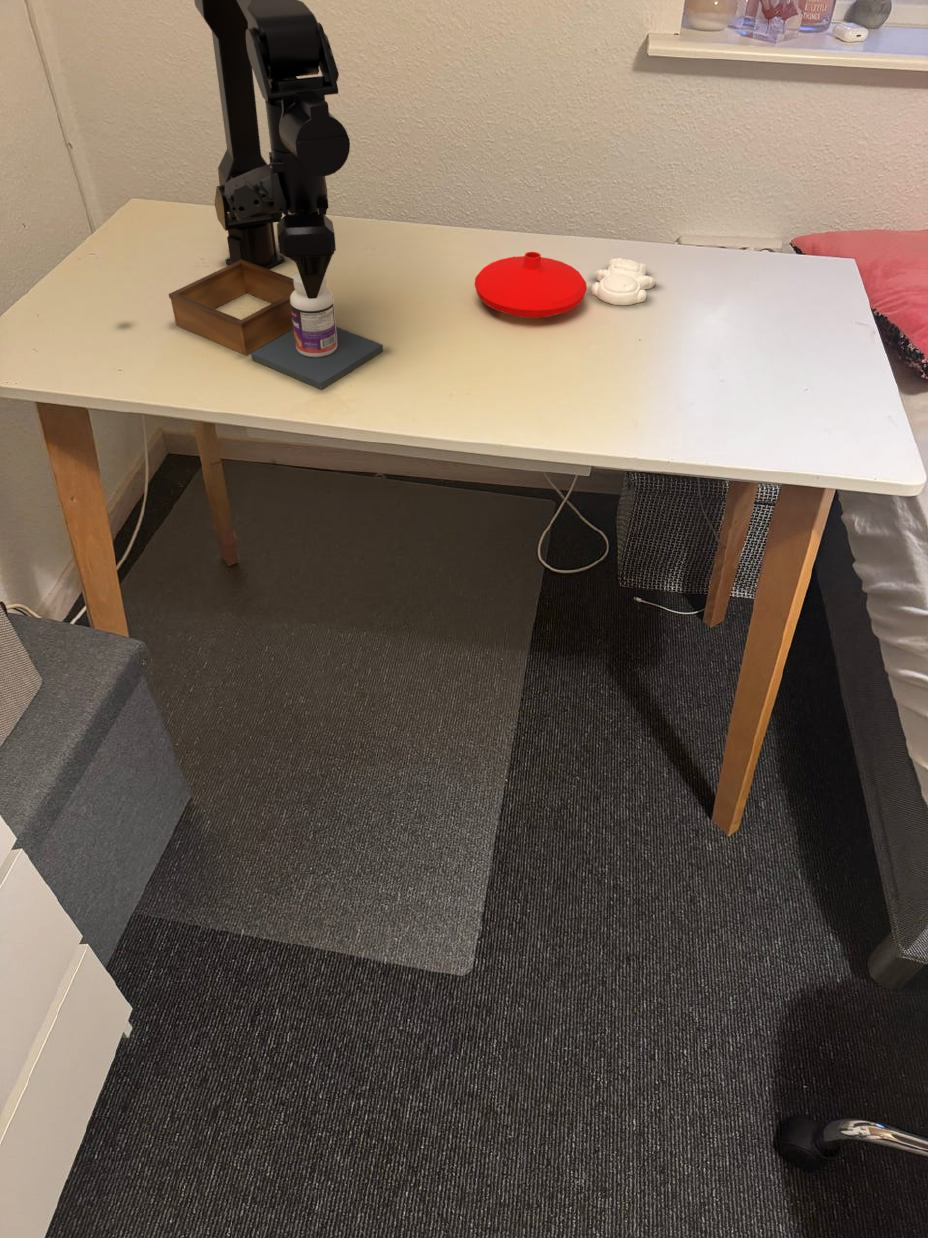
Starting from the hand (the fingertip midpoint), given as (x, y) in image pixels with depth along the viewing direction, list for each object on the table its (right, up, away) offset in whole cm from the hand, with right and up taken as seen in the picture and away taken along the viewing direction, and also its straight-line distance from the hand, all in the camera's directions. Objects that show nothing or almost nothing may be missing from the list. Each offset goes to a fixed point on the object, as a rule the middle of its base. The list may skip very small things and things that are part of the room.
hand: (310, 280), depth 115 cm
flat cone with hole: (+28, +3, +19) cm, 34 cm away
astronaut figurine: (+42, +7, +23) cm, 48 cm away
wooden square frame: (-11, -1, +13) cm, 17 cm away
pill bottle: (0, -6, +7) cm, 9 cm away
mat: (0, -7, +7) cm, 10 cm away
